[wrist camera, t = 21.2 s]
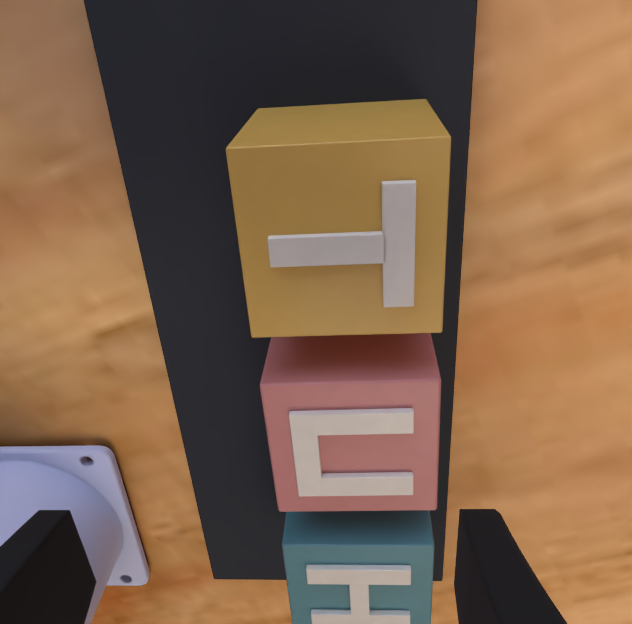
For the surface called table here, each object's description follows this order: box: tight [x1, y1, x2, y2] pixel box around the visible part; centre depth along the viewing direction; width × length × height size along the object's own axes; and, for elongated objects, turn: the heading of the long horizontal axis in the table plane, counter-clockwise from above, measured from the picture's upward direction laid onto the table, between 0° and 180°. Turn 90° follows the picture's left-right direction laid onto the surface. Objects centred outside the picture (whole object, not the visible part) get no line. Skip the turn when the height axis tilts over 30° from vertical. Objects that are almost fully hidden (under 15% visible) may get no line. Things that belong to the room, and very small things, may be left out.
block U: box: [260, 333, 441, 512], centre depth 18 cm, size 5×5×5 cm
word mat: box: [84, 0, 477, 581], centre depth 20 cm, size 10×23×1 cm, turn 4°
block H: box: [282, 510, 434, 624], centre depth 21 cm, size 5×5×5 cm
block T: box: [226, 99, 451, 338], centre depth 15 cm, size 5×5×5 cm
